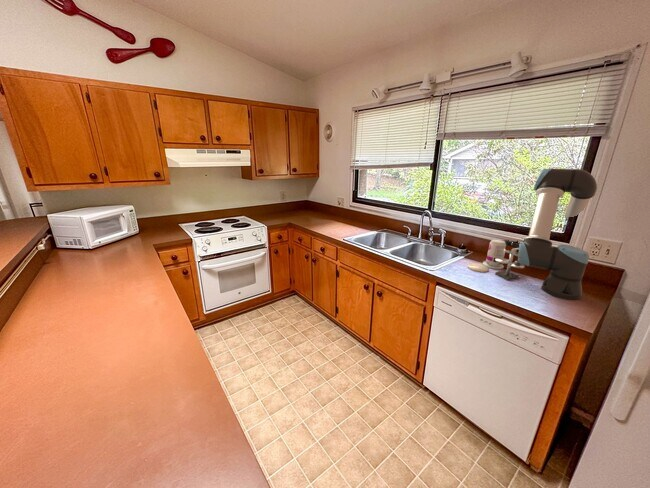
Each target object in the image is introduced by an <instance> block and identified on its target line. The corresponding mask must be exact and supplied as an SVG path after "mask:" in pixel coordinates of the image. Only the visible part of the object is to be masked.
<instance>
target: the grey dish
mask: <svg viewBox="0 0 650 488" xmlns="http://www.w3.org/2000/svg"><path fill="white" fill-rule="evenodd" d="M482 265H484V266H487V267H488V268H489V269H491V270H503V269H504V265H503V263H502V264H501V265H500V266H498V267H495V266H490V265H488V264H487V263H486V260H484V261H482Z"/></svg>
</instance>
